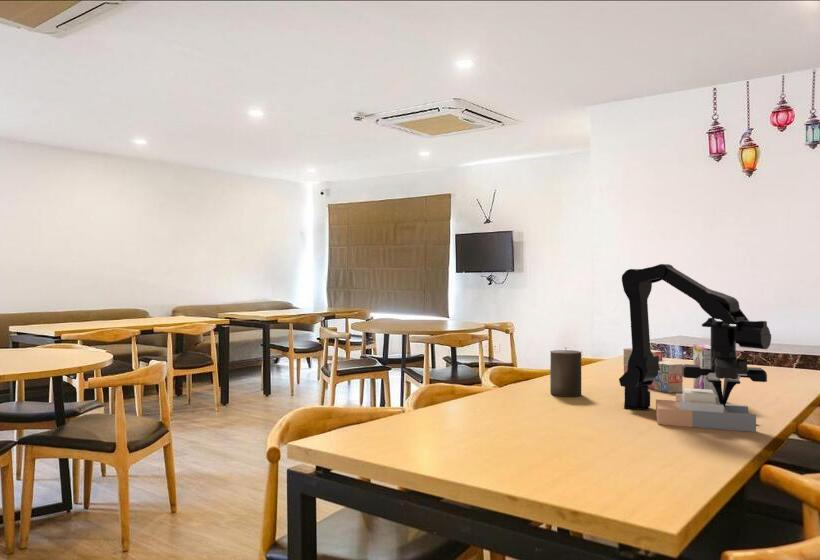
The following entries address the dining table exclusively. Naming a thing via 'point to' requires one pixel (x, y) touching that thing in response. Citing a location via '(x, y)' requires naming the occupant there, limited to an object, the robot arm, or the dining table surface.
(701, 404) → the channel walls
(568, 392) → the pillar candle
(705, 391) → the cream block
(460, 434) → the dining table surface
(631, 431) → the dining table surface
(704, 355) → the candy bar box
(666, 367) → the stack of blocks
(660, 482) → the dining table surface
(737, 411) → the grey piece
